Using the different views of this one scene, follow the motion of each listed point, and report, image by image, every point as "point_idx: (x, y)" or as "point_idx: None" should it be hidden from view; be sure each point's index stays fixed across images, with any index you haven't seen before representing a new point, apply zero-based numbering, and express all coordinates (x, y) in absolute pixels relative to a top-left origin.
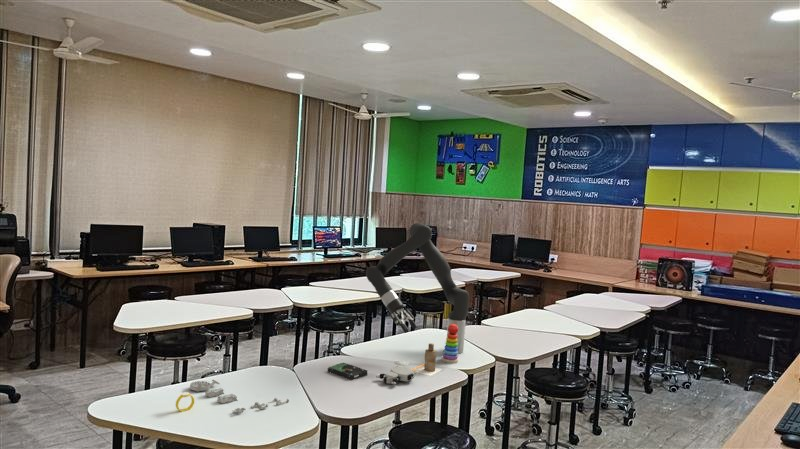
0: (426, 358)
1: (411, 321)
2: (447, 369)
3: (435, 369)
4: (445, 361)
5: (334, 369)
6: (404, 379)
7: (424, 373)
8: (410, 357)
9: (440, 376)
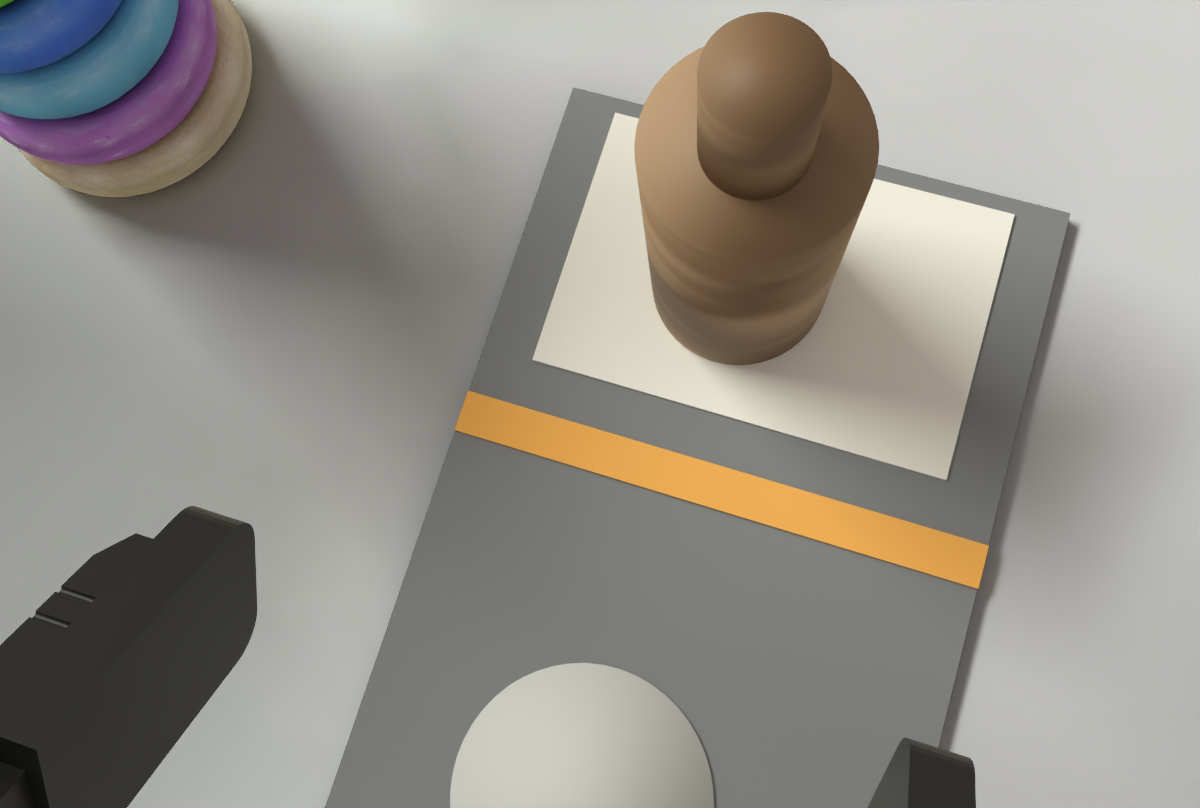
0: (836, 263)
1: (27, 805)
2: (532, 60)
3: None
4: (234, 122)
5: None
6: None
7: (949, 322)
8: None
9: (907, 97)
